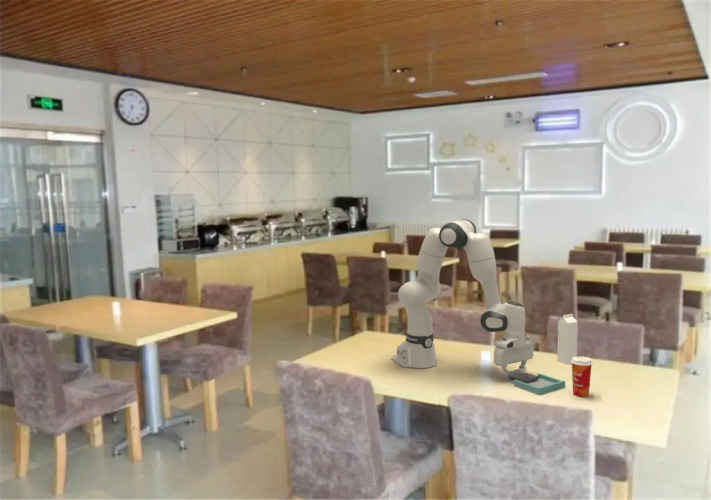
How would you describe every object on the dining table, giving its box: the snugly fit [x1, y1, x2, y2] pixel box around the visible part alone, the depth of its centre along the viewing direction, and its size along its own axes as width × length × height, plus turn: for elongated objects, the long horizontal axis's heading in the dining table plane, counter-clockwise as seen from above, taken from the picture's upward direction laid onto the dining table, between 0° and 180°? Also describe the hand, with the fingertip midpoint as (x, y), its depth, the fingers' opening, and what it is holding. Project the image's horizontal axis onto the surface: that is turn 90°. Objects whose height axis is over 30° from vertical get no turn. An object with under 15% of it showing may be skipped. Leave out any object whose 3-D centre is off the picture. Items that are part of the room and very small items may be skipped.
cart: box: [505, 366, 539, 383], centre depth 240 cm, size 9×11×4 cm
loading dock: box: [505, 373, 566, 396], centre depth 236 cm, size 19×15×4 cm
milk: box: [556, 313, 579, 365], centre depth 264 cm, size 6×6×22 cm
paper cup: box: [571, 356, 593, 398], centre depth 224 cm, size 8×8×14 cm
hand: (514, 372), depth 245 cm, fingers open, 8 cm apart
